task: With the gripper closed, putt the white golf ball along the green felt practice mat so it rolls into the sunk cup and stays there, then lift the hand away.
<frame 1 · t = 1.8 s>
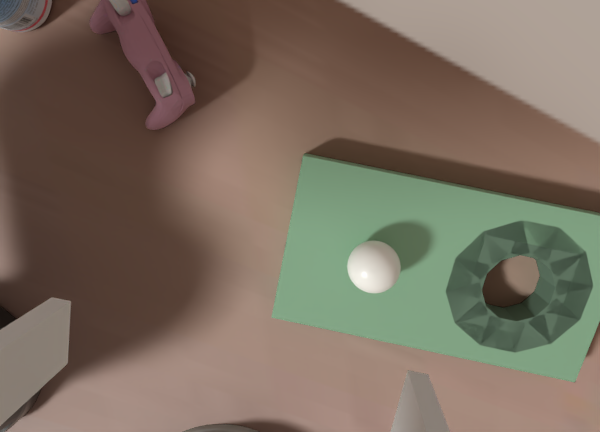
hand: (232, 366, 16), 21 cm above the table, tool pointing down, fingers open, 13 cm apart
mat: (436, 263, 35), on the table
video game controller: (157, 63, 34), on the table
ball: (373, 266, 31), point 4 cm above the table, touching mat
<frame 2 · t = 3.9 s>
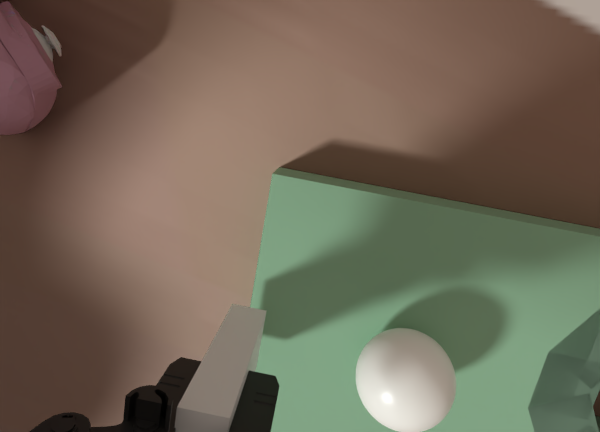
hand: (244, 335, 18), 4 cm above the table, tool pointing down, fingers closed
mat: (504, 348, 21), on the table
video game controller: (13, 21, 19), on the table
ball: (404, 378, 17), point 4 cm above the table, touching mat
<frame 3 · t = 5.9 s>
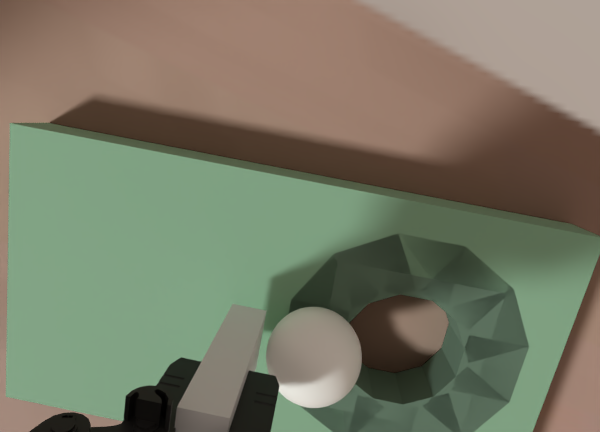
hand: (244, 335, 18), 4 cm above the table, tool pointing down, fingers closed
mat: (281, 302, 22), on the table
ball: (313, 355, 17), point 4 cm above the table, tilted 137°, touching mat
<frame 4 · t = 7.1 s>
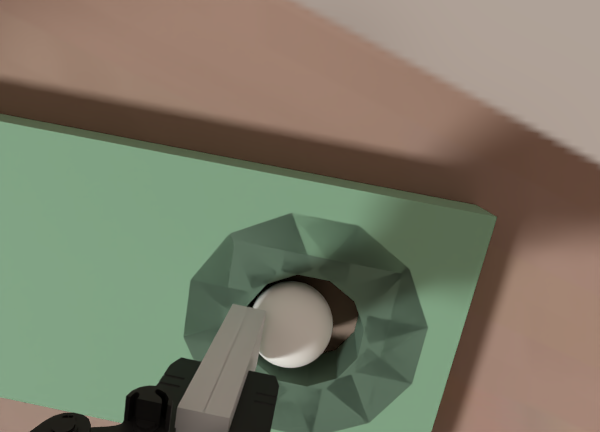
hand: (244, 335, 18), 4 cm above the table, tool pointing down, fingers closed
mat: (193, 285, 22), on the table
ball: (290, 323, 20), point 2 cm above the table, tilted 12°, touching gripper
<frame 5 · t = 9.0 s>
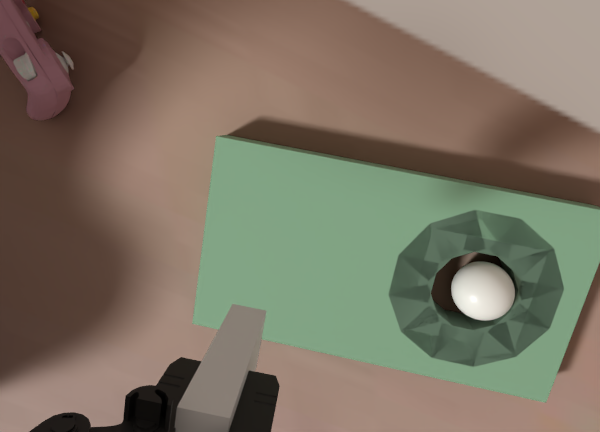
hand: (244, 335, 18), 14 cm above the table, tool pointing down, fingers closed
mat: (382, 261, 31), on the table
video game controller: (43, 46, 30), on the table
ball: (482, 290, 28), point 2 cm above the table, tilted 26°
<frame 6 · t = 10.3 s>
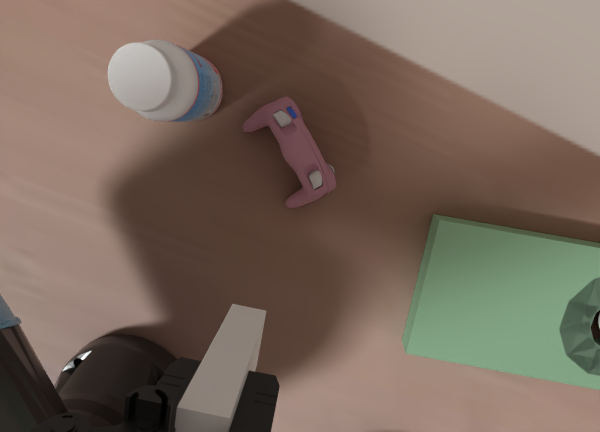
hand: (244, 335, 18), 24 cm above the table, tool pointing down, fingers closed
mat: (545, 302, 41), on the table
pill bottle: (194, 88, 40), on the table
video game controller: (292, 152, 40), on the table
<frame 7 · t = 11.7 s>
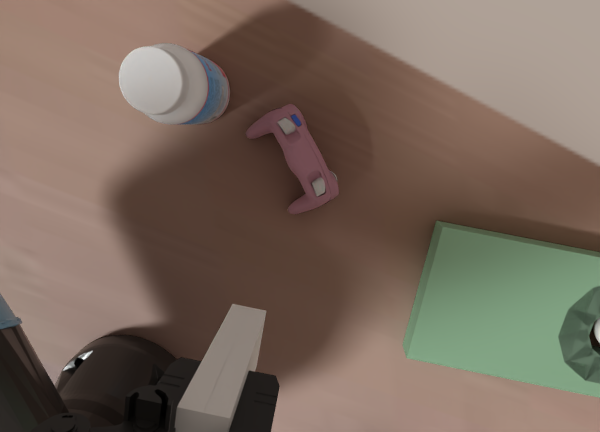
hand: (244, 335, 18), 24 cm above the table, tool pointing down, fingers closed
mat: (544, 310, 42), on the table
pill bottle: (201, 91, 40), on the table
video game controller: (295, 158, 41), on the table
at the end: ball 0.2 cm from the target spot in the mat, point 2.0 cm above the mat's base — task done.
